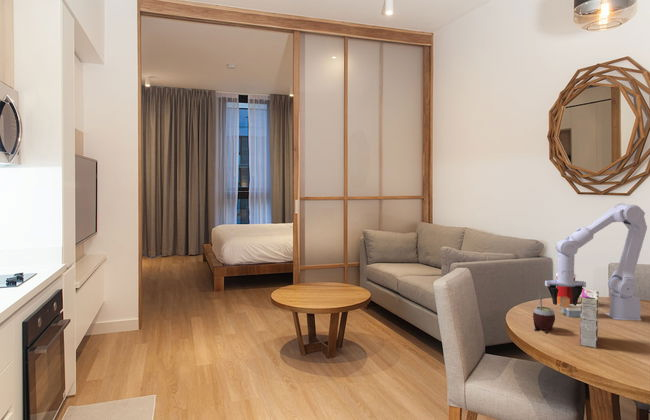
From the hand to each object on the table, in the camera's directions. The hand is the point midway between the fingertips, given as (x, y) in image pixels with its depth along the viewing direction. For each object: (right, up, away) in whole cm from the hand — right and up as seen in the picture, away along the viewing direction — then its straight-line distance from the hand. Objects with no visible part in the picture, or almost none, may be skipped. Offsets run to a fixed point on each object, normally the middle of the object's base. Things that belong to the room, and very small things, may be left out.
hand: (564, 304), depth 173 cm
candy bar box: (-7, -7, -27) cm, 29 cm away
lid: (+4, -1, 0) cm, 5 cm away
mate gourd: (-17, -6, -17) cm, 24 cm away
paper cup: (+8, -4, +14) cm, 17 cm away
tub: (+4, -4, 0) cm, 6 cm away
